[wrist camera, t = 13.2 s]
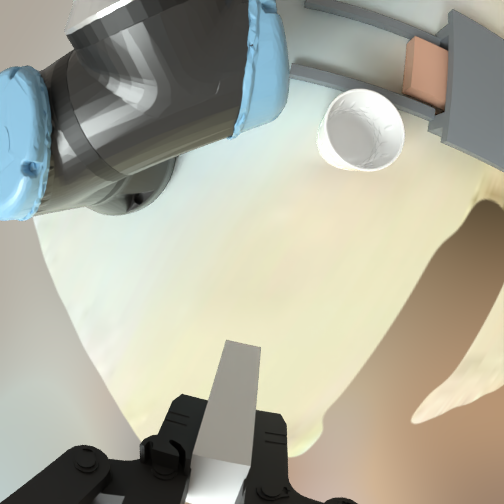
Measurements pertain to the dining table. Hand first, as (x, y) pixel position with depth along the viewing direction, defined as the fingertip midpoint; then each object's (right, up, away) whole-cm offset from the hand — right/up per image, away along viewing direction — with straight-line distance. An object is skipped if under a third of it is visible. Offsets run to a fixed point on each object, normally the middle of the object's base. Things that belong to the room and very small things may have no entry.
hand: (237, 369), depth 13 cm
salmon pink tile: (+27, +28, +19) cm, 44 cm away
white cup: (+12, +18, +23) cm, 31 cm away
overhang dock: (+22, +29, +19) cm, 41 cm away
